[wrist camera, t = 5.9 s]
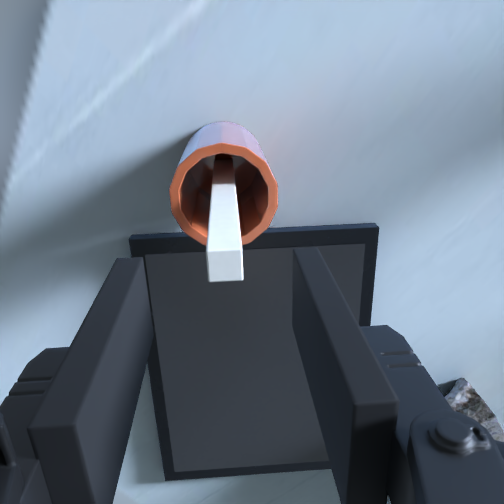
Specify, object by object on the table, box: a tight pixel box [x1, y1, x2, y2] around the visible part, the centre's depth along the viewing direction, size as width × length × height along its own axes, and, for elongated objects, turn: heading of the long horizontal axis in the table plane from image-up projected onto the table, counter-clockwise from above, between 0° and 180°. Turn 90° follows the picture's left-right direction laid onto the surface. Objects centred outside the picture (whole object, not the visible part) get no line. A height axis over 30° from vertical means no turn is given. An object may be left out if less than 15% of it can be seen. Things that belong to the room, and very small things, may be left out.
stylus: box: [206, 159, 243, 282], centre depth 22 cm, size 1×1×16 cm
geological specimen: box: [445, 378, 504, 442], centre depth 40 cm, size 11×6×15 cm
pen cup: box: [169, 121, 278, 246], centre depth 26 cm, size 5×6×9 cm
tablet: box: [129, 223, 379, 481], centre depth 37 cm, size 18×24×1 cm
